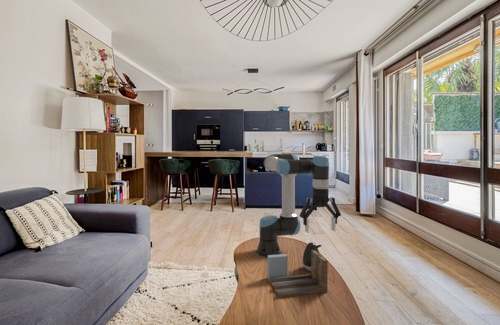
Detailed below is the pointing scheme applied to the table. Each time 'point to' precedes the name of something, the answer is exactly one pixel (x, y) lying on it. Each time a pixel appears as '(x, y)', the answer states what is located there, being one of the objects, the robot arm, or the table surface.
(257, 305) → the table surface
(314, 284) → the track sill
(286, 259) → the pale grey rectangular block
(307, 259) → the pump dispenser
